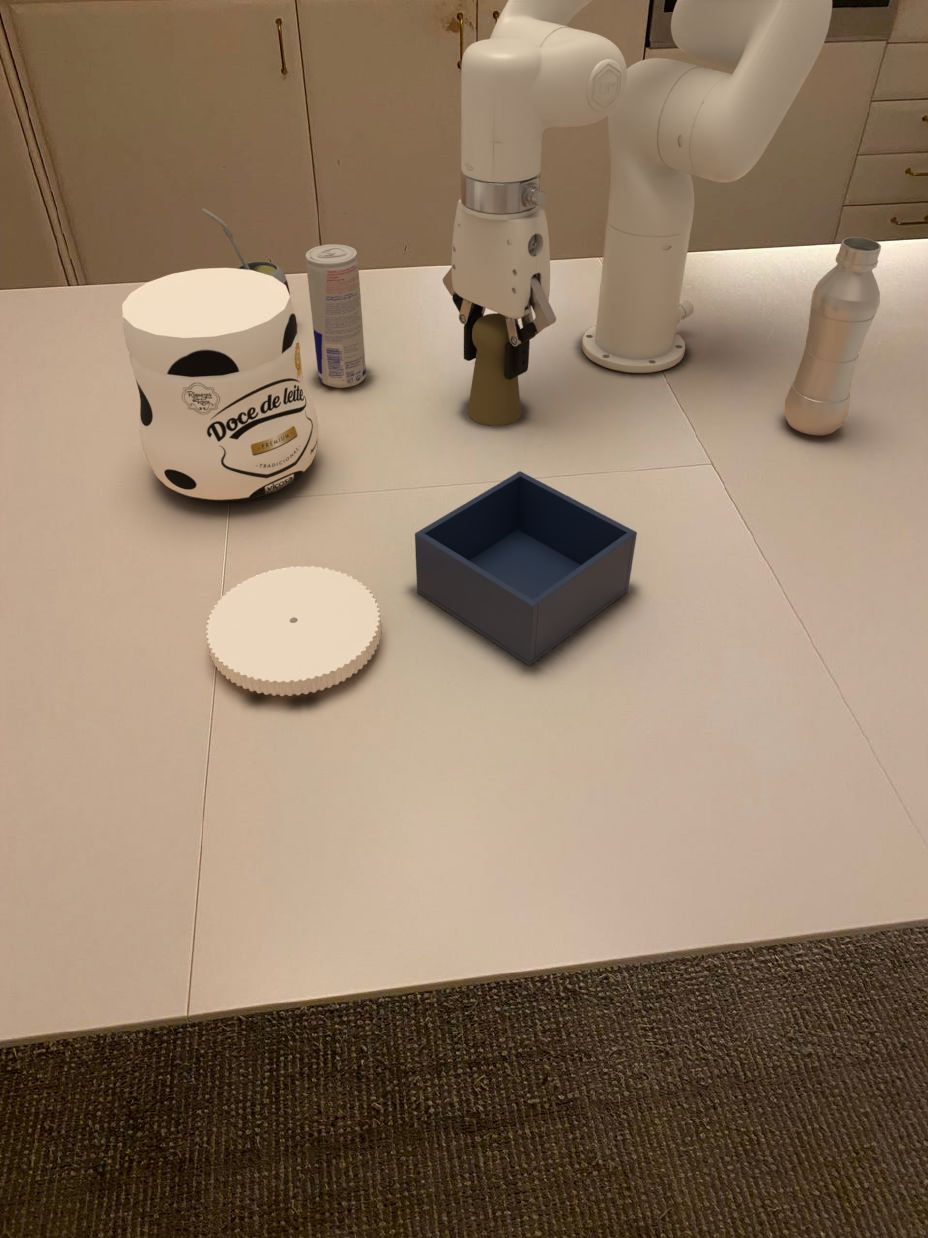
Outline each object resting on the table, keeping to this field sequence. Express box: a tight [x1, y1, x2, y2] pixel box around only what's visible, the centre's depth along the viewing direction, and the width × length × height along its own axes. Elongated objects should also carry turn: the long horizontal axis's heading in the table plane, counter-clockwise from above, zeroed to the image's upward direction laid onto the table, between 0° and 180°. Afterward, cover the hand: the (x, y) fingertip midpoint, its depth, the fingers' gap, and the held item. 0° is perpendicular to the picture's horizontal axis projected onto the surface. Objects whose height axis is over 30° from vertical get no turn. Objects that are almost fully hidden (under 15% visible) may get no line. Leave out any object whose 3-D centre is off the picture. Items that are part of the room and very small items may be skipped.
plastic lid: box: [205, 565, 382, 697], centre depth 78 cm, size 14×14×2 cm
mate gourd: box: [201, 207, 291, 296], centre depth 117 cm, size 8×8×15 cm
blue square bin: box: [414, 470, 638, 667], centre depth 82 cm, size 13×13×6 cm
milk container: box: [121, 267, 319, 503], centre depth 92 cm, size 17×17×18 cm
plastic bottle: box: [783, 236, 882, 437], centre depth 98 cm, size 6×7×20 cm
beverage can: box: [305, 243, 367, 389], centre depth 107 cm, size 6×6×15 cm
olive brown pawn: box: [467, 312, 522, 427], centre depth 103 cm, size 6×6×11 cm
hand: (495, 363), depth 103 cm, fingers closed on olive brown pawn, 5 cm apart
